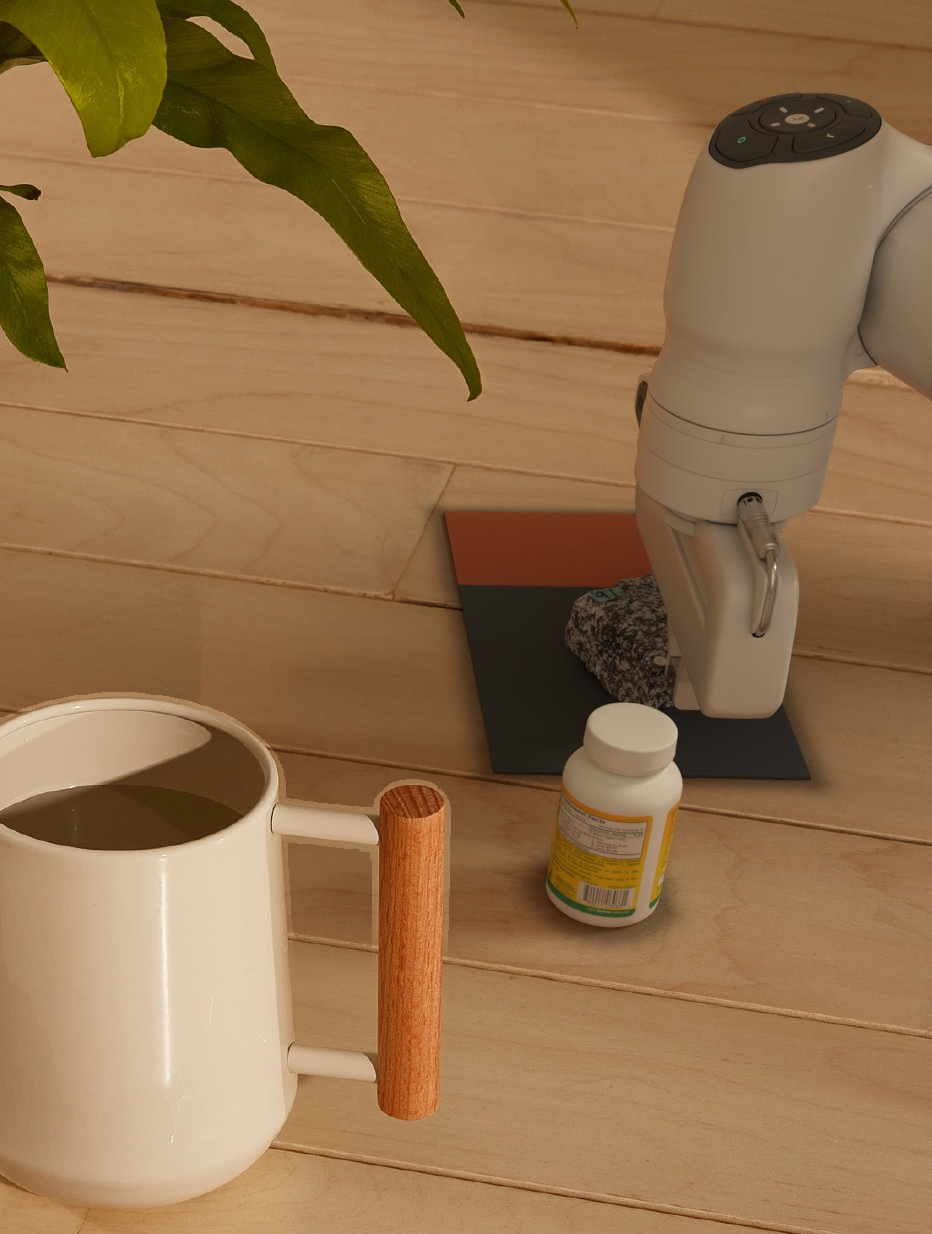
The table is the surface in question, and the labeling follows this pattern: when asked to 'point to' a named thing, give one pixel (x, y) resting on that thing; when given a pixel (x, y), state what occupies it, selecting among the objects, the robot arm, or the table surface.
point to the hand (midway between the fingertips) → (685, 694)
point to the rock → (624, 640)
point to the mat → (547, 669)
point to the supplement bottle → (615, 817)
